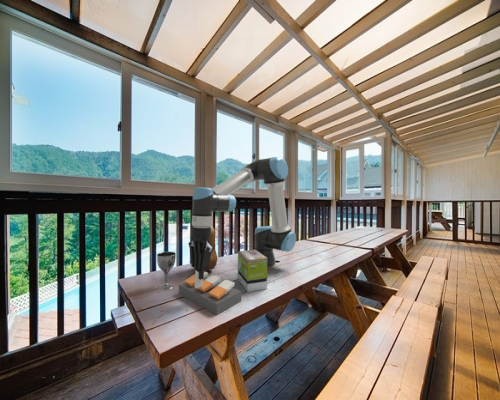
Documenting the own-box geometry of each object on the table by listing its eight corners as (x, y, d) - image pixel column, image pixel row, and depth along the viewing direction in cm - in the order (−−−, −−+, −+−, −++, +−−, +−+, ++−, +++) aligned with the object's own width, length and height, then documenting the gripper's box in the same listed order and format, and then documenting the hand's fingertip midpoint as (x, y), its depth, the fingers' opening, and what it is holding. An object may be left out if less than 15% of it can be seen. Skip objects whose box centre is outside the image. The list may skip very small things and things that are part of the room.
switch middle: (213, 278, 91) (212, 274, 90) (221, 282, 87) (220, 277, 87) (196, 290, 84) (195, 285, 83) (204, 293, 81) (203, 289, 80)
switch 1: (201, 273, 96) (200, 269, 95) (208, 276, 92) (208, 272, 92) (185, 284, 89) (184, 280, 88) (192, 288, 86) (191, 284, 85)
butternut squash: (188, 275, 109) (188, 227, 109) (196, 266, 123) (197, 224, 122) (213, 276, 108) (214, 228, 108) (219, 267, 121) (220, 225, 121)
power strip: (216, 278, 105) (216, 271, 105) (254, 293, 90) (254, 284, 90) (178, 294, 88) (178, 284, 88) (216, 315, 73) (217, 304, 73)
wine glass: (155, 291, 90) (155, 256, 90) (158, 283, 98) (158, 252, 98) (174, 289, 93) (174, 255, 92) (175, 282, 100) (176, 251, 100)
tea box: (236, 279, 105) (237, 250, 105) (255, 277, 109) (255, 248, 108) (246, 292, 91) (247, 259, 91) (267, 289, 94) (268, 257, 94)
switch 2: (226, 283, 86) (225, 279, 85) (235, 287, 82) (234, 282, 82) (209, 296, 79) (208, 292, 78) (218, 301, 76) (217, 296, 75)
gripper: (183, 225, 83) (180, 284, 83) (204, 229, 75) (201, 295, 74) (198, 224, 89) (196, 279, 88) (219, 227, 80) (217, 288, 80)
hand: (198, 286), depth 81 cm, fingers closed
